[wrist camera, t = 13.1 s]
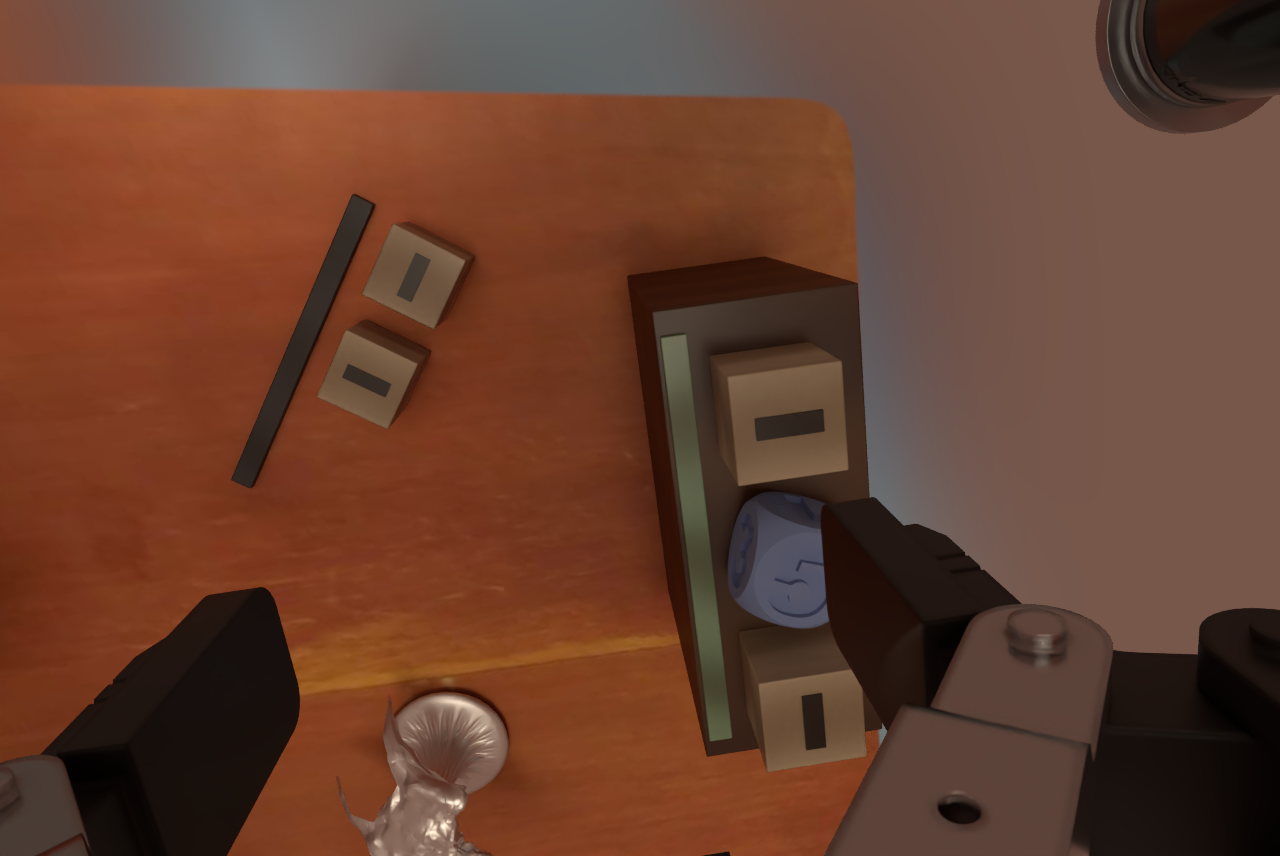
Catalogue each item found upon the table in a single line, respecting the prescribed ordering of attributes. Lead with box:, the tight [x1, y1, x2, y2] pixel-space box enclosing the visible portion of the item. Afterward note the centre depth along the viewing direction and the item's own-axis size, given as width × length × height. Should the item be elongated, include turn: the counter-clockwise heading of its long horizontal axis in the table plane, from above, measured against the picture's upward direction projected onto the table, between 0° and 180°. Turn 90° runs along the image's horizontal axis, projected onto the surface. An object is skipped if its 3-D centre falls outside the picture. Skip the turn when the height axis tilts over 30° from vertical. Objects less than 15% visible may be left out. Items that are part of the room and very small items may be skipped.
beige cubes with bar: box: [231, 194, 475, 488], centre depth 45 cm, size 18×7×4 cm, turn 152°
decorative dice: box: [728, 492, 829, 629], centre depth 32 cm, size 4×4×4 cm
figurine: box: [336, 692, 509, 856], centre depth 49 cm, size 8×12×10 cm, turn 56°
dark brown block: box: [627, 257, 882, 772], centre depth 40 cm, size 20×8×20 cm, turn 7°
